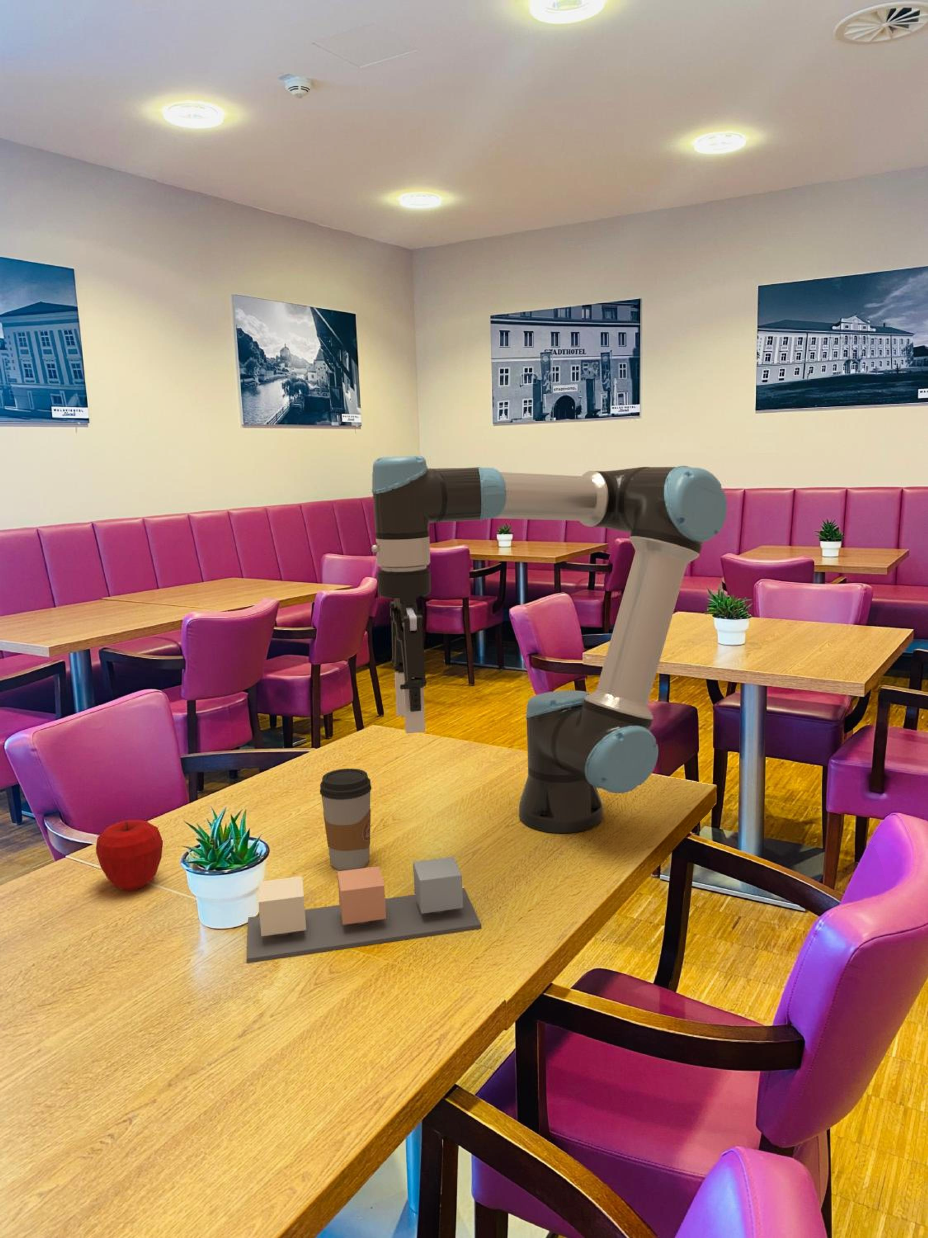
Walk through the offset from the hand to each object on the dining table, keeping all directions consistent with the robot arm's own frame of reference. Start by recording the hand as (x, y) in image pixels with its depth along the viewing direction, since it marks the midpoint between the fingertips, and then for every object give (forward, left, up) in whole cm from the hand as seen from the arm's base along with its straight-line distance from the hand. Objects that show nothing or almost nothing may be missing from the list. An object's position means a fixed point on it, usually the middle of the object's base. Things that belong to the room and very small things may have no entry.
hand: (410, 723), depth 128 cm
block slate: (-2, +6, -25) cm, 26 cm away
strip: (+9, +6, -27) cm, 29 cm away
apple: (+43, -16, -27) cm, 53 cm away
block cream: (+20, +6, -25) cm, 33 cm away
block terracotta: (+9, +6, -25) cm, 27 cm away
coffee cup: (+9, -14, -27) cm, 32 cm away
